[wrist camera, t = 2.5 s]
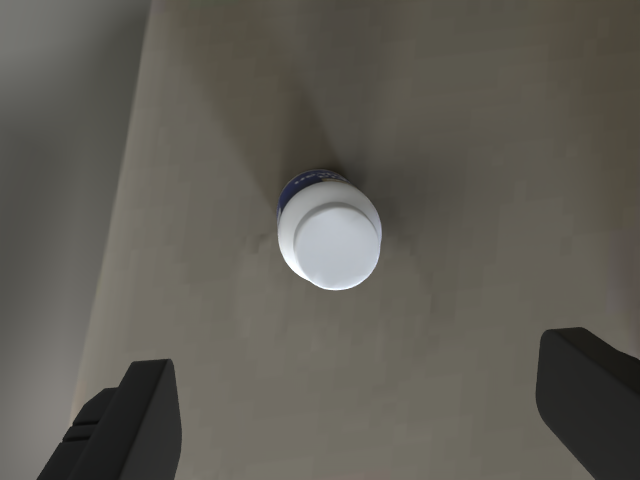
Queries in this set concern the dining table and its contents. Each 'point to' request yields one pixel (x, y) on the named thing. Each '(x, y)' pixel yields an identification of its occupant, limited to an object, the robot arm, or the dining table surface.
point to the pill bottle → (328, 230)
